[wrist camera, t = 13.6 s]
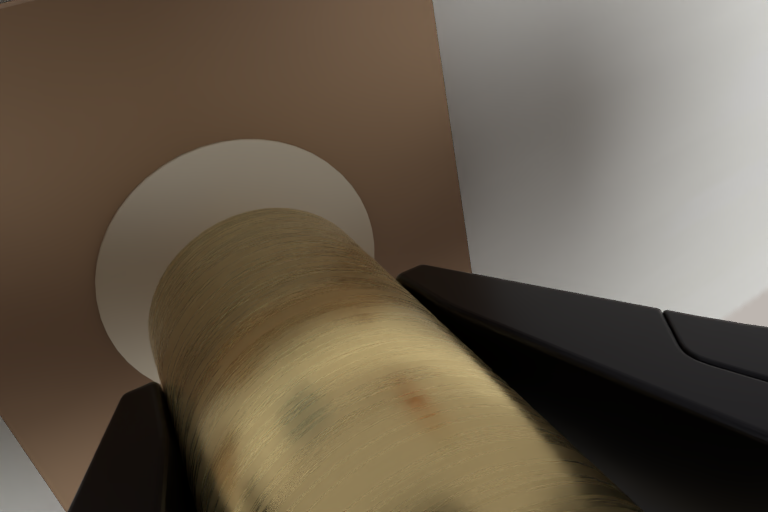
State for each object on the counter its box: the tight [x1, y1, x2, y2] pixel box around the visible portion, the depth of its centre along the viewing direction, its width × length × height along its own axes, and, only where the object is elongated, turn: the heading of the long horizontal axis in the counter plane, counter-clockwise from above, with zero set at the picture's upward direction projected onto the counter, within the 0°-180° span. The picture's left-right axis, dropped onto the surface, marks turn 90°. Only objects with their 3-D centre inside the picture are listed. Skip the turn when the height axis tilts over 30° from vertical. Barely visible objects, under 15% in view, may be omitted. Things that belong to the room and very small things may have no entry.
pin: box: [148, 208, 644, 512], centre depth 7 cm, size 3×3×6 cm
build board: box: [0, 0, 472, 512], centre depth 11 cm, size 9×8×1 cm
